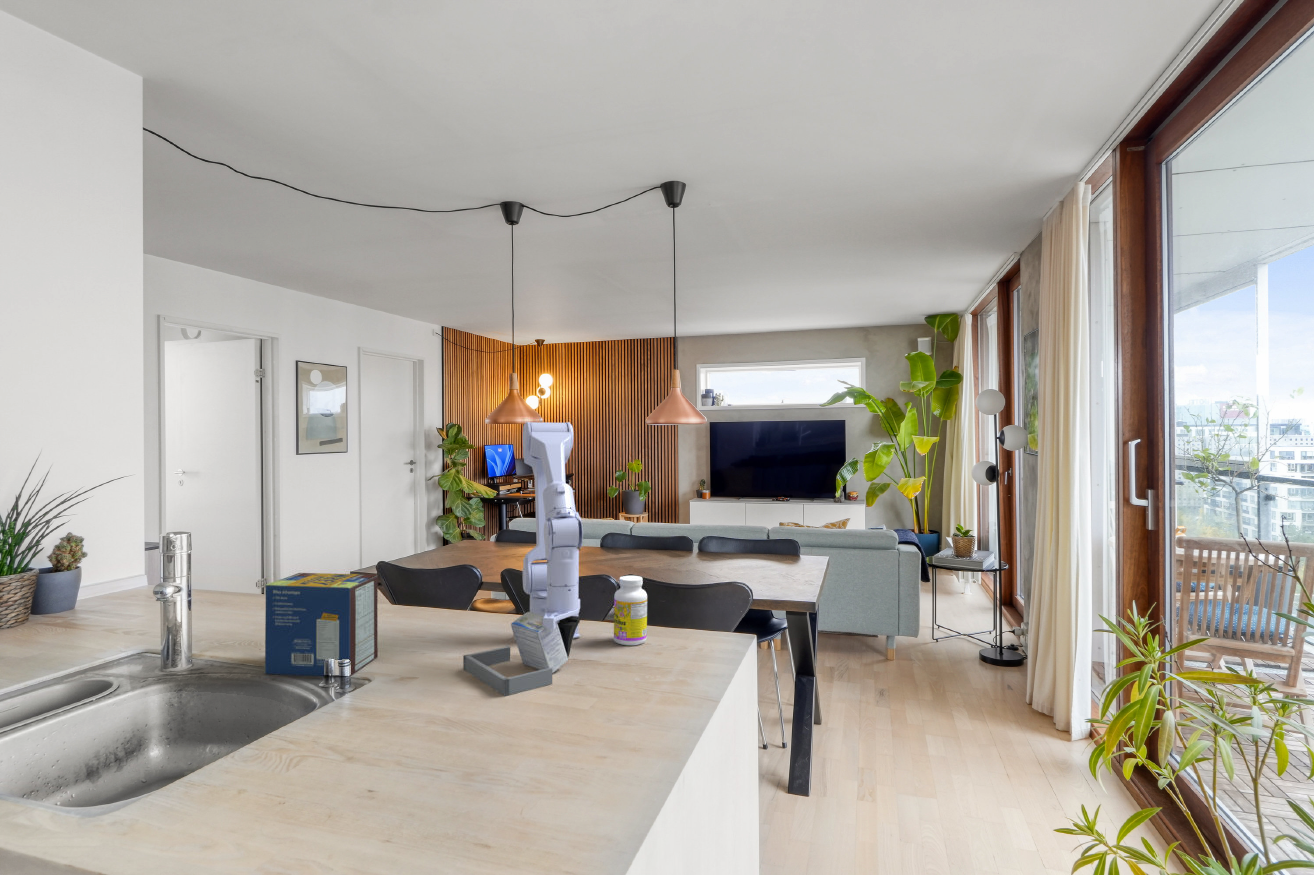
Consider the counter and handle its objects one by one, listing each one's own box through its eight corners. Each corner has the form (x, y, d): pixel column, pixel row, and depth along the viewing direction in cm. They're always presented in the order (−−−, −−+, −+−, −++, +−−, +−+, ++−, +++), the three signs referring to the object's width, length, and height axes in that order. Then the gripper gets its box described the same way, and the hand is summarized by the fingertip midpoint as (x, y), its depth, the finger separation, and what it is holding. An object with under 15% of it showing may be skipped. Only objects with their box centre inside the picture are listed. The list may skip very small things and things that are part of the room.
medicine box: (569, 661, 123) (557, 618, 120) (550, 675, 119) (538, 632, 117) (540, 651, 128) (528, 610, 125) (522, 665, 125) (509, 623, 122)
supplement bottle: (608, 639, 141) (609, 575, 141) (637, 634, 144) (638, 573, 144) (622, 648, 135) (622, 582, 135) (652, 643, 138) (653, 579, 138)
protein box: (298, 655, 129) (298, 572, 129) (378, 657, 128) (379, 573, 128) (262, 674, 118) (263, 584, 118) (350, 677, 118) (350, 586, 117)
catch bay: (508, 659, 127) (508, 646, 127) (552, 683, 115) (552, 668, 115) (463, 669, 122) (463, 655, 122) (504, 696, 110) (504, 680, 110)
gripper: (555, 574, 133) (555, 644, 134) (526, 591, 119) (525, 669, 119) (590, 576, 132) (590, 647, 132) (565, 593, 118) (564, 673, 118)
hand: (562, 658), depth 126 cm, fingers closed
